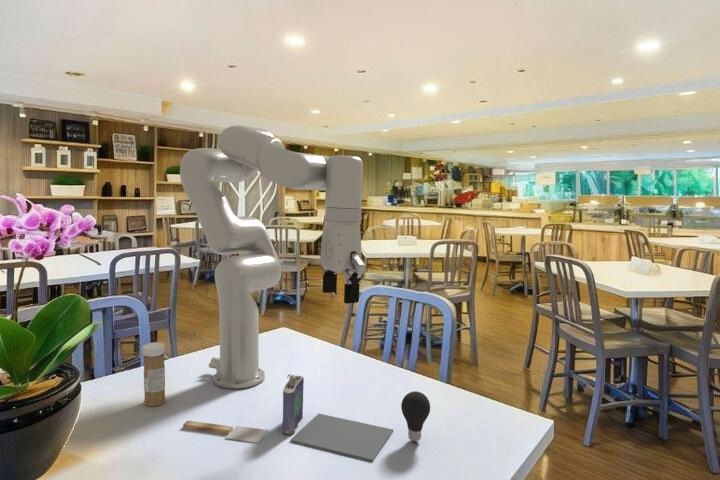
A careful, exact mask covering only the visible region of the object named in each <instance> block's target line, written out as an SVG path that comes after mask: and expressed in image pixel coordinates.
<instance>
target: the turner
mask: <svg viewBox="0 0 720 480" xmlns="http://www.w3.org/2000/svg"><path fill="white" fill-rule="evenodd" d="M182 425H183V427H182V428H183V430H184V429H185V430H191V431H199V432H205V433H207V432H208V433H212V434H213V433H215V434H221V435H226V436H225V437H224V439H225V440H228V441H235V442H242V443H250V444H255V445H256V444H258V445H259V444H260V442H262V441H263V439H264V438H265V436H266V435H267V434H268V433H269V429H264V428H257V427H256V428H255V427H247V426H241V425H235V427H233V426H232V425H231V426H230V425H224V424H216V423H210V422H209V423H208V422H201V421H194V420H186V421H185V422H184V423H182Z"/></svg>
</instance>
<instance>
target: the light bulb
mask: <svg viewBox="0 0 720 480" xmlns="http://www.w3.org/2000/svg"><path fill="white" fill-rule="evenodd" d="M400 407H401V412H402V415H403V417H404V419H405V421H406V424H407V428H408V432H407V434H408V439H409V440H410V441H411V442H412V443H418V441H420V440H421V438H422V430H423V428H424V427H423V426H424V424H425V422H426V420H427V419H428V417H429V415H430V412H431V403H430V401H429V399H428V397H427V395H425V394H424V393H422V392H420V391H410V392H408V393H407V394H406V395H405V396H404V397H403V399H402V401H401V405H400Z"/></svg>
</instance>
